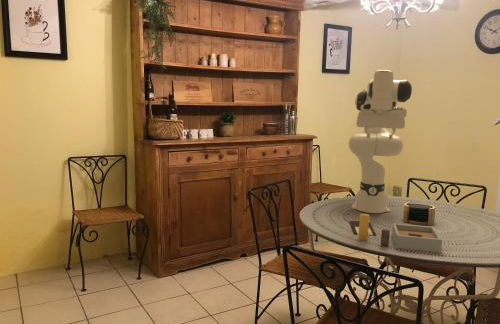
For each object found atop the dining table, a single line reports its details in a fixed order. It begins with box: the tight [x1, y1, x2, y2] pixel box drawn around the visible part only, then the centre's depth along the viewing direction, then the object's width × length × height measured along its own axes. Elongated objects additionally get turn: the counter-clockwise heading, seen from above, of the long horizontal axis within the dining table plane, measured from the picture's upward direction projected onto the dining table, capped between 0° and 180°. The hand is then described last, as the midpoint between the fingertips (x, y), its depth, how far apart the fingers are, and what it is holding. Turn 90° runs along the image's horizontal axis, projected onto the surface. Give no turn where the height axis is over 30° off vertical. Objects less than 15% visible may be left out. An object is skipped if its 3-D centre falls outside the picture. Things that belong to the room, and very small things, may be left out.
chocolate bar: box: [349, 220, 377, 237], centre depth 183 cm, size 9×1×18 cm
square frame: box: [391, 222, 443, 254], centre depth 165 cm, size 16×16×5 cm
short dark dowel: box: [380, 228, 391, 248], centre depth 162 cm, size 3×3×6 cm
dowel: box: [358, 213, 370, 241], centre depth 168 cm, size 4×4×10 cm
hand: (379, 138), depth 183 cm, fingers open, 8 cm apart
